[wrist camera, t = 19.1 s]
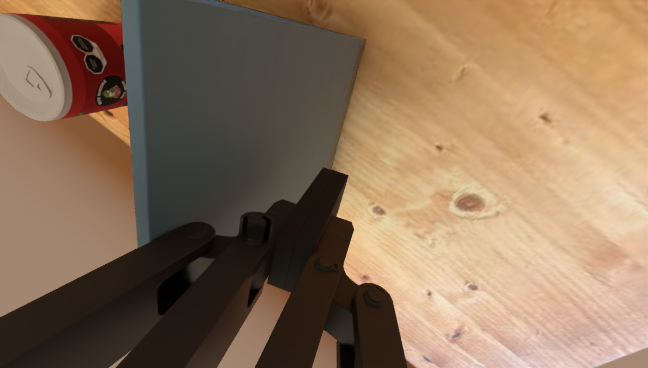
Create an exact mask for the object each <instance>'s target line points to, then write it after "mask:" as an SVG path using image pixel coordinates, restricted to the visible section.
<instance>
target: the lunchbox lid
mask: <svg viewBox="0 0 648 368" xmlns="http://www.w3.org/2000/svg"><path fill="white" fill-rule="evenodd" d="M120 3H121V17H122V31H123V45H124V59H125V73H126V88H127V102H128V116H129V130H130V144H131V158H132V172H133V187H134V200H135V215H136V229H137V242H138V248H139V247H141V246H143V245H145V244H147V243H149V242H151V241H153V240H155V239H157V238H159V237H161V236H163V235H165V234H167V233H169V232H171V231H173V230H175V229H177V228H179V227H181V226H183V225H185V224H188V223H190V222H204V223H207V224H210V225H211V226H212V227H213V228H214V229H215V232H216V235H221V236H237V235H238V234H239V226H240V217H241V215H243V214H244V213H247V212H262V213H265V212H266V211H267V210H268V209H269V208H270V207H271V206H272V204H273V203H274V202H277V201H279V200H281V199H284V200H287V201H289V202H292V203H295V204H297V203H298V201H299V200H300V198H301V197H302V196H303V194H304V193H305V192H306V190H307V189H308V187H309V186H310V185H311V183H312V182H313V180H314V179H315V178H316V176H317V175H318V174H319V172H320V171H321V169H322V168H323V167H324V168H327V166H328V163H329V159H330V155H331V151H332V147H333V144H334V140H335V136H336V132H337V129H338V125H339V121H340V117H341V113H342V110H343V106H344V102H345V98H346V94H347V91H348V87H349V83H350V79H351V75H352V72H353V68H354V64H355V60H356V57H357V53H358V49H359V45H360V41H361V39H359V38H355V37H351V36H347V35H342V34H338V33H334V32H329V31H325V30H320V29H316V28H312V27H307V26H303V25H299V24H294V23H290V22H285V21H281V20H277V19H272V18H268V17H263V16H259V15H255V14H250V13H246V12H241V11H237V10H233V9H228V8H224V7H220V6H215V5H211V4H206V3H202V2H198V1H193V0H120Z"/></svg>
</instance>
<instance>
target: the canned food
mask: <svg viewBox="0 0 648 368" xmlns="http://www.w3.org/2000/svg"><path fill="white" fill-rule="evenodd" d="M0 93H1V94H2V96H3V97H4V98H5V99H6V100H7V101H8V102H9V103H10V104H11V105H12V106H13V107H14V108H16V109H17V110H18V111H19V112H21V113H22V114H24V115H26V116H28V117H30V118H32V119H35V120H39V121H50V120H59V119H64V118H70V117H74V116H80V115H85V114H89V113H94V112H99V111H104V110H109V109H113V108H118V107H123V106H128V102H127V88H126V73H125V59H124V45H123V31H122V23H115V22H105V21H94V20H83V19H73V18H62V17H51V16H41V15H30V14H15V13H0Z"/></svg>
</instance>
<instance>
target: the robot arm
mask: <svg viewBox="0 0 648 368" xmlns="http://www.w3.org/2000/svg"><path fill="white" fill-rule="evenodd" d="M348 176H349V175H346V174H343V173H340V172H337V171H334V170H330V169H327V168H324V167H323V168H322V169H321V171H320V172H319V174H318V175H317V176H316V178H315V179H314V180H313V182H312V183H311V185H310V186H309V187H308V189H307V190H306V192H305V193H304V194H303V196H302V197H301V198H300V200H299V201H298V203H297V204H295V203H292V202H289V201H287V200H284V199H281V200H279V201H277V202H274V203H273V204H272V206H271V207H270V208H269V209H268V210H267V211H266V212H265V213H262V212H247V213H244V214H243V215H241V217H240V226H239V234H238V235H237V236H221V235H216V232H215V229H214V228H213V227H212V226H211V225H210V224H207V223H204V222H190V223H188V224H185V225H183V226H181V227H179V228H177V229H175V230H173V231H171V232H169V233H167V234H165V235H163V236H161V237H159V238H157V239H155V240H153V241H151V242H149V243H147V244H145V245H143V246H141V247H139V248H137V249H135V250H133V251H131V252H129V253H127V254H125V255H123V256H121V257H119V258H117V259H115V260H113V261H112V262H109V263H107V264H105V265H103V266H101V267H99V268H97V269H95V270H93V271H91V272H89V273H87V274H85V275H83V276H81V277H79V278H77V279H75V280H73V281H71V282H69V283H67V284H65V285H64V286H61V287H60V288H58V289H56V290H54V291H52V292H50V293H48V294H46V295H44V296H42V297H40V298H38V299H36V300H34V301H32V302H30V303H28V304H26V305H24V306H22V307H20V308H18V309H16V310H14V311H12V312H10V313H8V314H6V315H4V316H2V317H0V368H109V367H110V366H112V365H113V364H114V363H115V362H117V361H118V360H119V359H120V358H122V357H123V356H124V355H126V354H127V353H128V352H130V351H131V352H130V353H129V354H128V355H127V356H126V357H125V358H124V359H123V360H122V361H121V363H120V364H119V365H118V366H117V367H116V368H217V366H218V365H219V363H220V361H221V360H222V358H223V356H224V355H225V353H226V351H227V350H228V348H229V346H230V345H231V343H232V341H233V340H234V338H235V336H236V335H237V333H238V331H239V330H240V328H241V326H242V325H243V323H244V321H245V319H246V318H247V316H248V315H249V313H250V311H251V310H252V308H253V306H254V305H255V303H256V301H257V300H258V298H259V296H260V295H261V293H262V290H263V285H264V282H265V280H266V279H267V277H268V275H269V277H268V282H267V283H268V284H270V285H273V286H275V287H278V288H281V289H283V290H286V291H288V292H291V294H290V297H289V299H288V301H287V303H286V305H285V307H284V309H283V311H282V313H281V315H280V317H279V319H278V321H277V323H276V325H275V328H274V329H273V331H272V333H271V336H270V338H269V340H268V342H267V344H266V346H265V348H264V350H263V352H262V354H261V356H260V358H259V360H258V362H257V364H256V366H255V368H312V365H313V362H314V359H315V355H316V352H317V349H318V346H319V342H320V339H321V336H322V333H323V330H325V331H327V332H328V333H329V334H330V335H332V336H333V337H334V338H335V339H336V340H337V368H407V364H406V359H405V355H404V350H403V345H402V341H401V336H400V332H399V327H398V323H397V318H396V314H395V309H394V305H393V301H392V298H391V296H390V295H389V293H388V292H387V291H386V290H385V289H383V288H382V287H380V286H379V285H376V284H373V283H364V284H361V285H357V284H356V283H354V282H353V281H352V280H351V279H350V278H349V277H348V276H347V275H346V273H345V271H344V268H343V265H344V260H345V257H346V254H347V251H348V247H349V244H350V241H351V238H352V234H353V231H354V228H353V225H352V222H350V221H347V220H344V219H341V218H338V217H336V216H337V213H338V209H339V206H340V203H341V199H342V196H343V192H344V189H345V186H346V182H347V179H348Z"/></svg>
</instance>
